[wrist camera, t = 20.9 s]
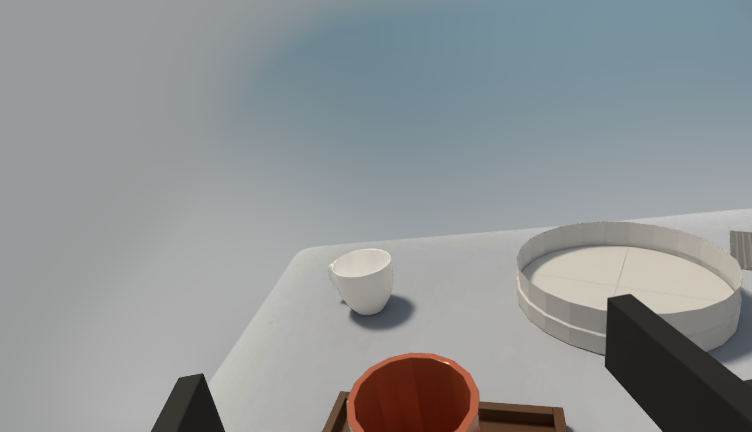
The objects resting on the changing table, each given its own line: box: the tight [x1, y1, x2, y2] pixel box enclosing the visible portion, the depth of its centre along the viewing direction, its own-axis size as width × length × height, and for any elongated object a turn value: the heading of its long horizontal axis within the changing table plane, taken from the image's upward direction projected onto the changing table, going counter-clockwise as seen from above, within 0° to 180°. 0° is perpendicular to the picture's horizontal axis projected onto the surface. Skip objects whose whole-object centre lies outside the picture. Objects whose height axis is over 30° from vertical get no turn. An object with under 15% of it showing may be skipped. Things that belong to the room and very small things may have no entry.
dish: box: [516, 222, 743, 355], centre depth 48 cm, size 22×22×5 cm
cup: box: [328, 249, 393, 315], centre depth 56 cm, size 8×10×7 cm
